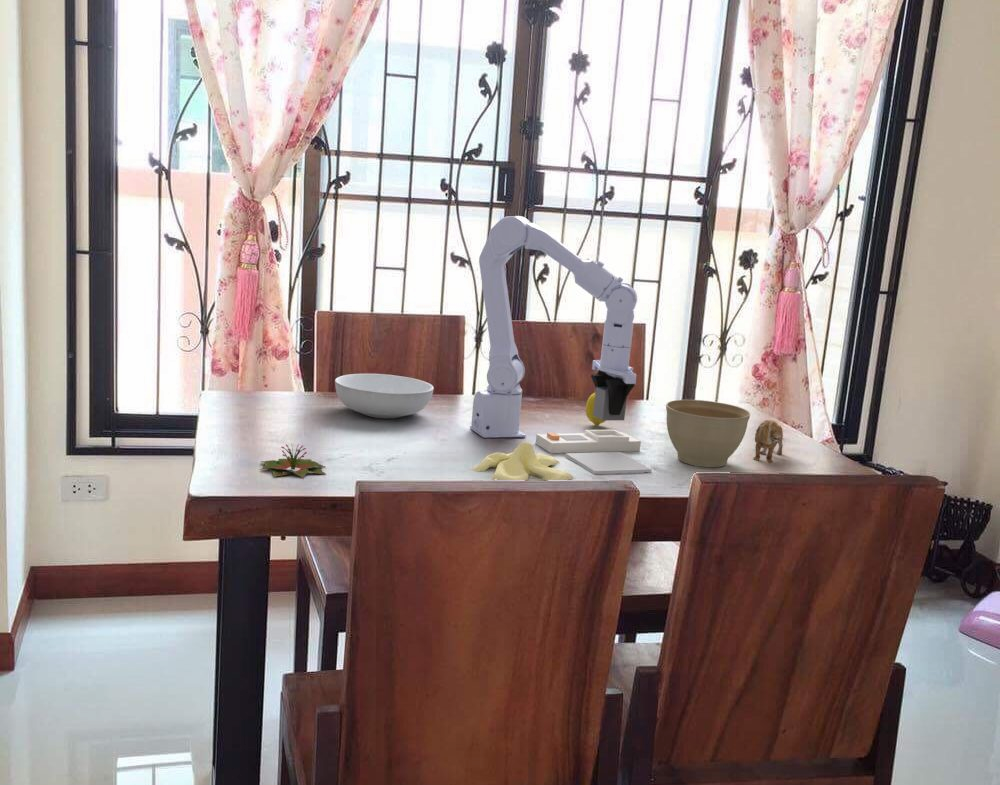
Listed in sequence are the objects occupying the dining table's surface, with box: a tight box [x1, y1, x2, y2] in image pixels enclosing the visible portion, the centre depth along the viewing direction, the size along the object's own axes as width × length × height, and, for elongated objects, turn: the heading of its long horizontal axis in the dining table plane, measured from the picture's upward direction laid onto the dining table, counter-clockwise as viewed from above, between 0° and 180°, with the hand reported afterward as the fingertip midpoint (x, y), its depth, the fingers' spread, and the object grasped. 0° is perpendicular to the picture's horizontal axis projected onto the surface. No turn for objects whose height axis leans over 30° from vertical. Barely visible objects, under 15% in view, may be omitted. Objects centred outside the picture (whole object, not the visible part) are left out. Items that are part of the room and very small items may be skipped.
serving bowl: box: [334, 373, 435, 419], centre depth 215 cm, size 21×21×7 cm
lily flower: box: [258, 443, 326, 480], centre depth 170 cm, size 12×12×5 cm
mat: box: [565, 451, 653, 475], centre depth 191 cm, size 12×12×1 cm
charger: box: [593, 387, 628, 422], centre depth 202 cm, size 5×4×6 cm
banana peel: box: [469, 440, 574, 481], centre depth 181 cm, size 22×19×6 cm
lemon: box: [585, 392, 606, 427], centre depth 221 cm, size 6×6×8 cm
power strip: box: [535, 429, 642, 454], centre depth 202 cm, size 20×7×3 cm, turn 113°
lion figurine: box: [752, 419, 784, 463], centre depth 206 cm, size 15×5×9 cm, turn 160°
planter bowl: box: [665, 399, 751, 468], centre depth 198 cm, size 16×16×11 cm
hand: (609, 411), depth 203 cm, fingers closed on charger, 4 cm apart
